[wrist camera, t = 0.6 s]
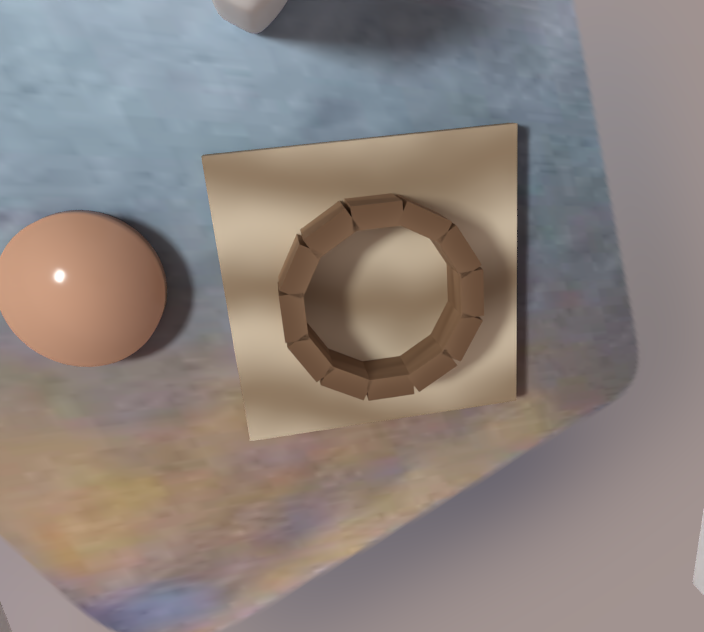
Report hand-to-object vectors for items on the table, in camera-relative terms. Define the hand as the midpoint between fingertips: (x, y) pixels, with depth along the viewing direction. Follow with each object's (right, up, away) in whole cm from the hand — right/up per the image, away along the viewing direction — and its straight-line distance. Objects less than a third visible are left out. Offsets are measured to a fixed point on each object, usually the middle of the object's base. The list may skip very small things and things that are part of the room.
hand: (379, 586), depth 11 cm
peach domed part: (-14, +7, +21) cm, 26 cm away
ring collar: (+1, +7, +23) cm, 23 cm away
